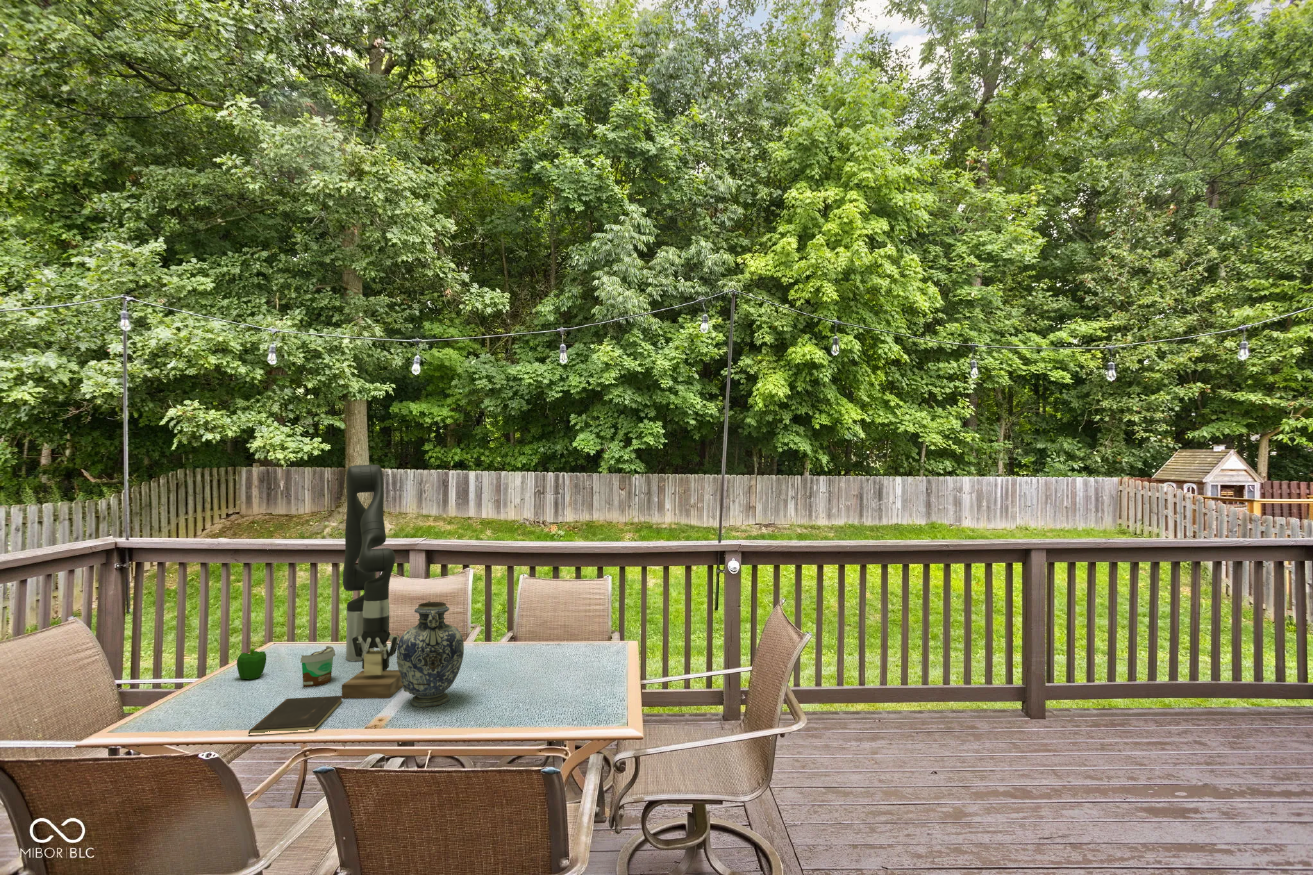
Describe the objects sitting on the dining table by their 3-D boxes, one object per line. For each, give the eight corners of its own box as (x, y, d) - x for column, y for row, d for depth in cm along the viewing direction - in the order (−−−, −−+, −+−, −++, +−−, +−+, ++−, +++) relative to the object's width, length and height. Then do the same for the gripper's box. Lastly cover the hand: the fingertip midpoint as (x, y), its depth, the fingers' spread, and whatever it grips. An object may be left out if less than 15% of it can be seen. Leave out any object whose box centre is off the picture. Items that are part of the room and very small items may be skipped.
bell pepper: (240, 675, 221) (240, 644, 221) (268, 672, 223) (268, 642, 224) (232, 683, 213) (233, 651, 213) (262, 680, 215) (262, 648, 216)
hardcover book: (343, 703, 195) (343, 695, 195) (315, 734, 172) (315, 725, 172) (284, 706, 193) (284, 698, 193) (248, 738, 170) (248, 729, 170)
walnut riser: (362, 683, 212) (362, 670, 212) (406, 682, 212) (406, 669, 212) (341, 698, 198) (342, 684, 198) (389, 697, 198) (389, 684, 198)
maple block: (370, 669, 207) (370, 650, 208) (386, 669, 207) (387, 650, 208) (363, 674, 202) (364, 654, 203) (380, 674, 202) (380, 654, 203)
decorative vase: (394, 693, 201) (396, 599, 202) (458, 686, 208) (460, 595, 210) (396, 718, 181) (399, 613, 183) (467, 709, 189) (469, 608, 190)
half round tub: (317, 689, 206) (317, 656, 206) (299, 688, 207) (300, 655, 207) (343, 677, 218) (344, 646, 218) (326, 676, 219) (327, 645, 219)
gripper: (404, 611, 210) (403, 666, 209) (358, 611, 209) (357, 666, 209) (395, 616, 202) (394, 673, 201) (347, 617, 202) (346, 674, 201)
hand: (375, 669), depth 205 cm, fingers closed on maple block, 5 cm apart
